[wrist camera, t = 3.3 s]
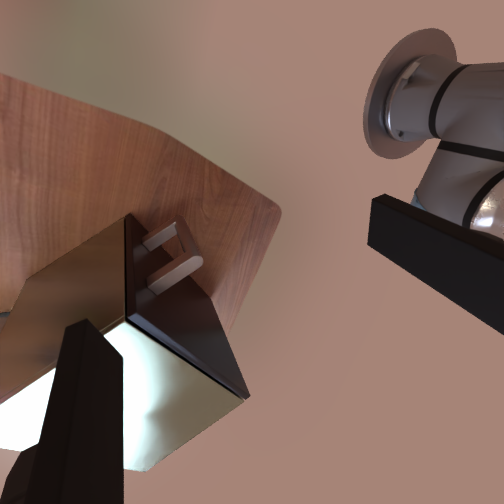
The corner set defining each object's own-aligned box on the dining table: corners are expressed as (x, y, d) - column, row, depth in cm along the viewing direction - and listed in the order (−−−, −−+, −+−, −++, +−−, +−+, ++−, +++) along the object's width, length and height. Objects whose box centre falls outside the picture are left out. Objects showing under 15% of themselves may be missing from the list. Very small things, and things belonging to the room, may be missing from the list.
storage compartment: (123, 216, 41) (124, 321, 23) (206, 301, 58) (244, 401, 39) (26, 279, 40) (-53, 439, 22) (137, 347, 57) (144, 472, 39)
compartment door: (166, 189, 42) (200, 269, 24) (236, 281, 58) (287, 370, 40) (125, 215, 41) (127, 318, 23) (207, 301, 58) (245, 400, 40)
